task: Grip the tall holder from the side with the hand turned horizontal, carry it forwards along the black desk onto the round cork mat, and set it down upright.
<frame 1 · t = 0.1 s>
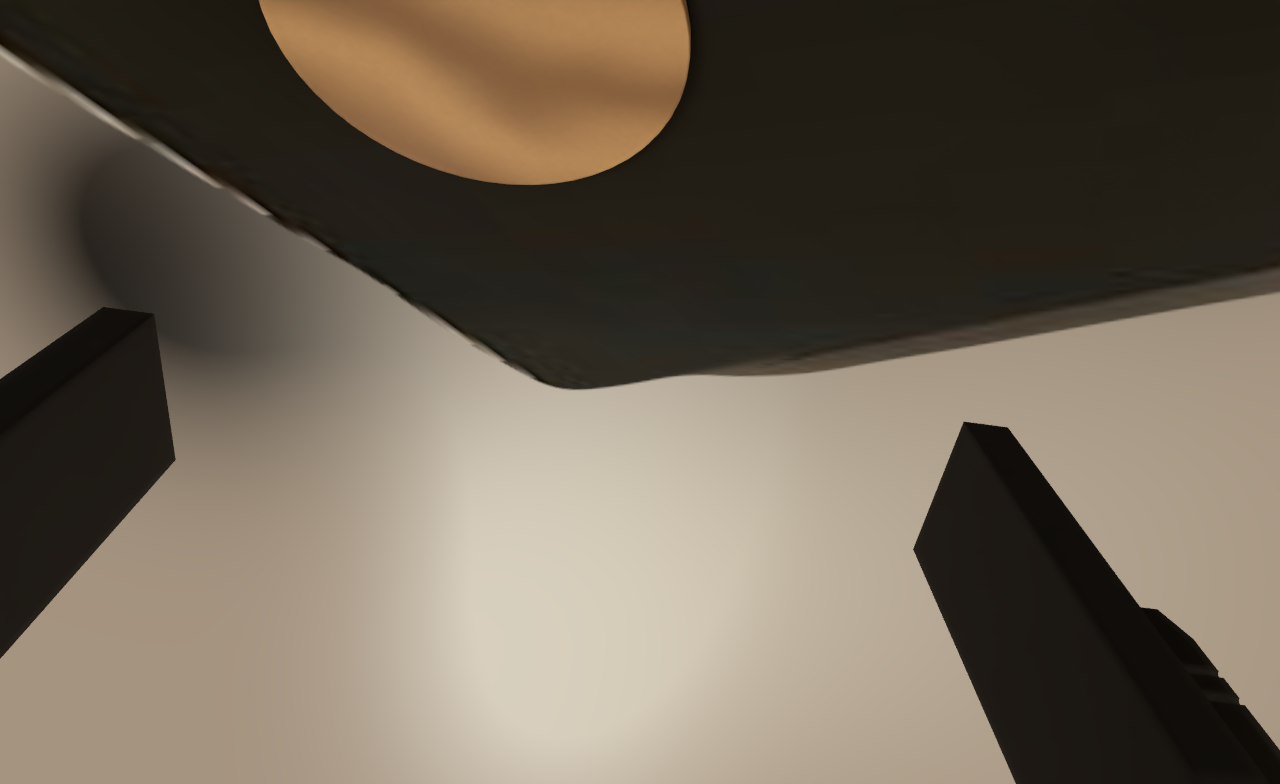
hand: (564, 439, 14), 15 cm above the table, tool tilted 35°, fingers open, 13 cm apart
cork mat: (480, 33, 26), on the table
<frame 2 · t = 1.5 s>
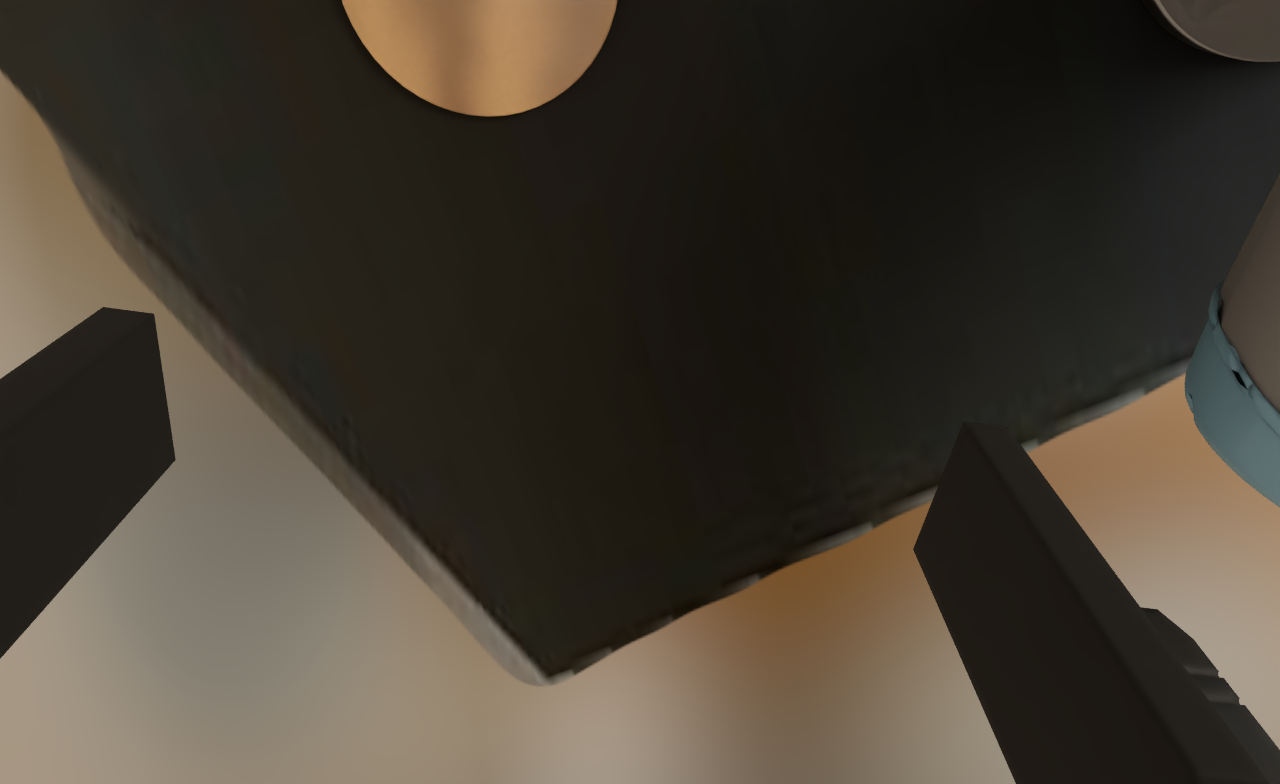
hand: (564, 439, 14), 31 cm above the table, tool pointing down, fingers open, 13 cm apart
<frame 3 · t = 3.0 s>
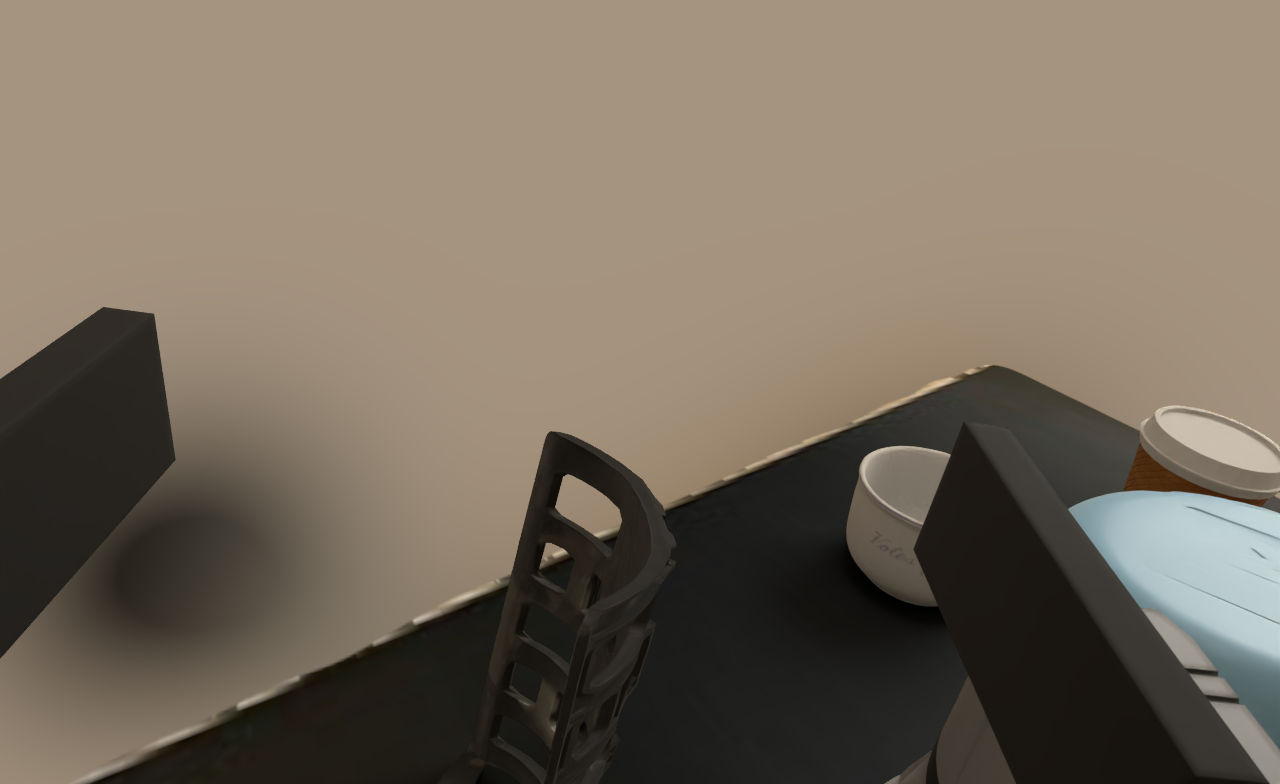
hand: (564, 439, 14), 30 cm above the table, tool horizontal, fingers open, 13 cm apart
teacup: (927, 579, 60), on the table
disposable coffee cup: (1145, 567, 65), on the table
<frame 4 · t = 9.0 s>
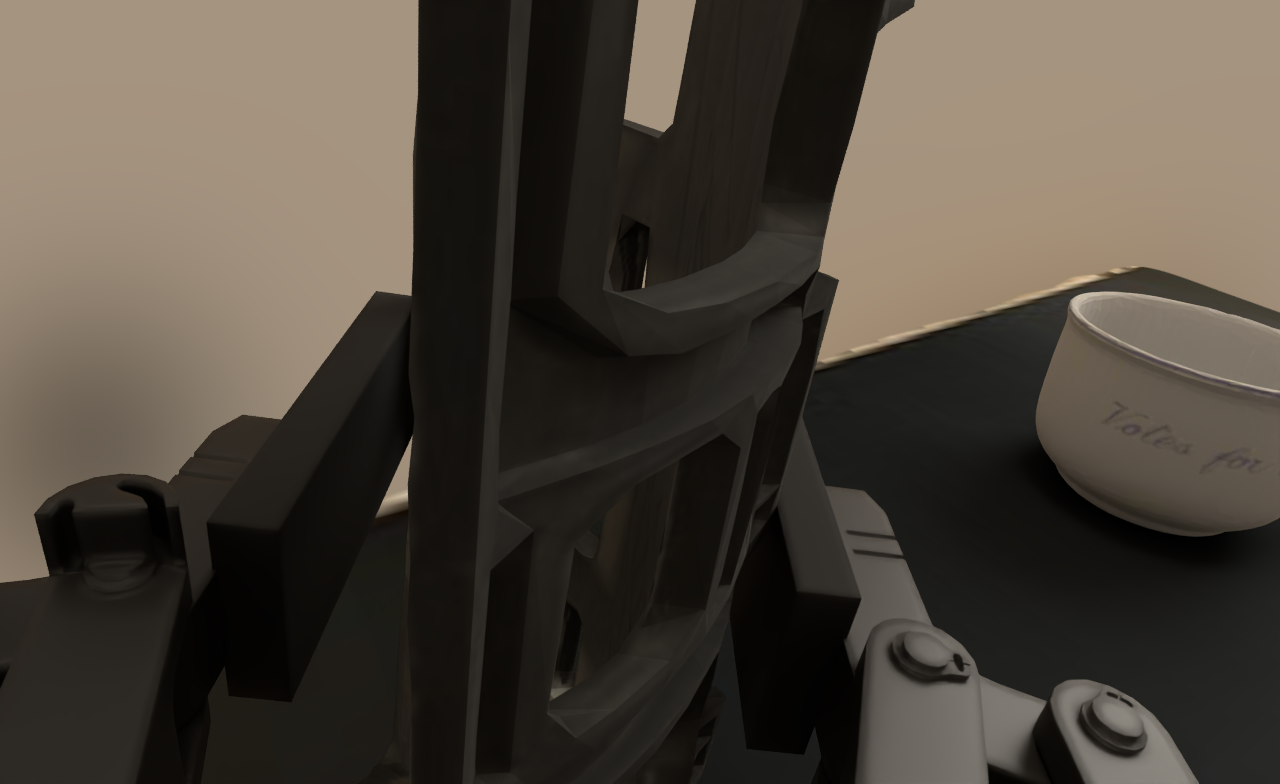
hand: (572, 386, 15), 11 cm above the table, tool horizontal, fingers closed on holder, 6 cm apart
teacup: (1162, 501, 38), on the table
when the fingers open (11 cm above the table, at t = 15.6 s): holder stays where it is, resting on cork mat.
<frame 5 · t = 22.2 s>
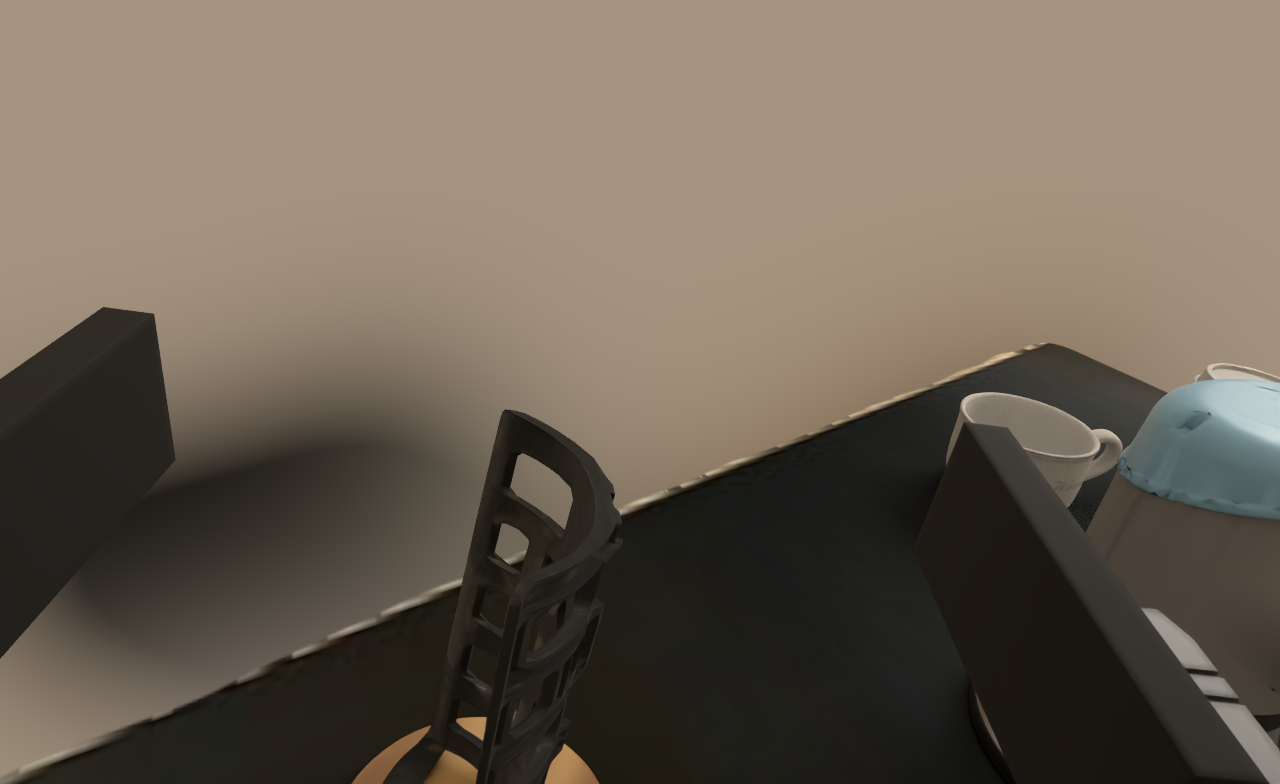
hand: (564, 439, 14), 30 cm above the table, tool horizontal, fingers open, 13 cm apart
teacup: (1013, 504, 71), on the table
disposable coffee cup: (1195, 502, 76), on the table
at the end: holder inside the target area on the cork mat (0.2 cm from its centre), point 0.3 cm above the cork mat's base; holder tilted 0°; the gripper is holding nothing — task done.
